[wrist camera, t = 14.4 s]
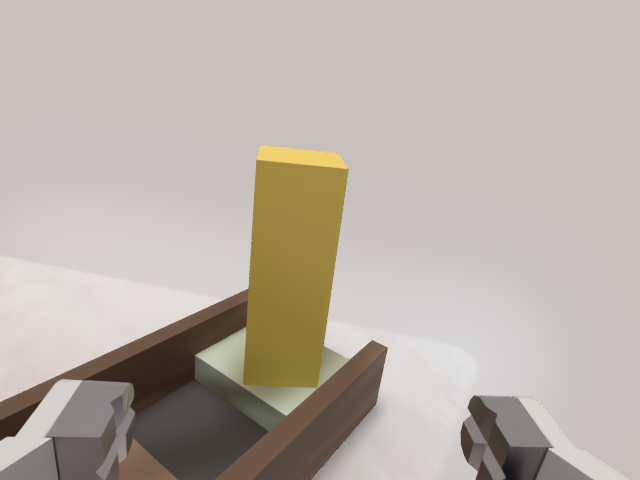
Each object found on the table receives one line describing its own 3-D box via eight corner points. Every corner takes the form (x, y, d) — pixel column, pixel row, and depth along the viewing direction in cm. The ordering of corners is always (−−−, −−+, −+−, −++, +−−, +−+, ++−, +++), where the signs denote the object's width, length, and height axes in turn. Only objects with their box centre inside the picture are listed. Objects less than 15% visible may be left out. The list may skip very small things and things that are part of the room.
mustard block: (242, 385, 22) (256, 159, 18) (248, 340, 26) (261, 145, 21) (317, 387, 22) (348, 169, 18) (312, 343, 26) (337, 152, 22)
